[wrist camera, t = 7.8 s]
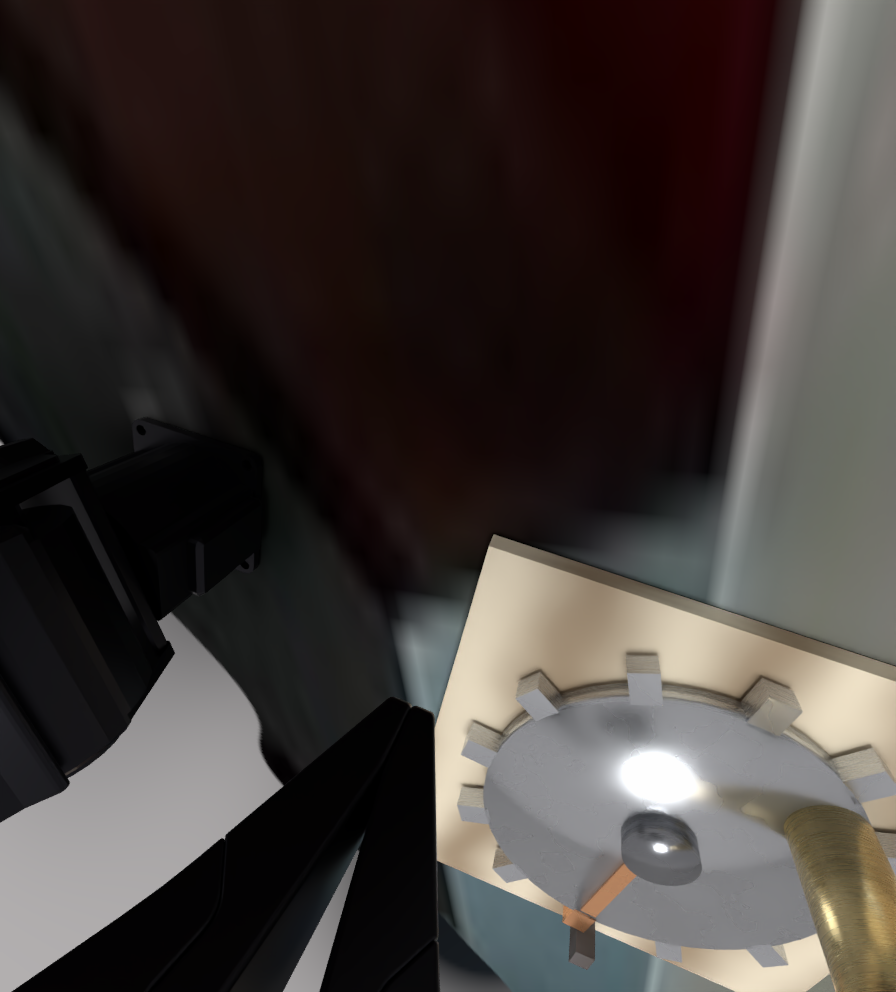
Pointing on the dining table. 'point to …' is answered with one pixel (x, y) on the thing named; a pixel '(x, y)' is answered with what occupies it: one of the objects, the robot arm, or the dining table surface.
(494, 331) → the dining table surface
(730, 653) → the sprocket base
